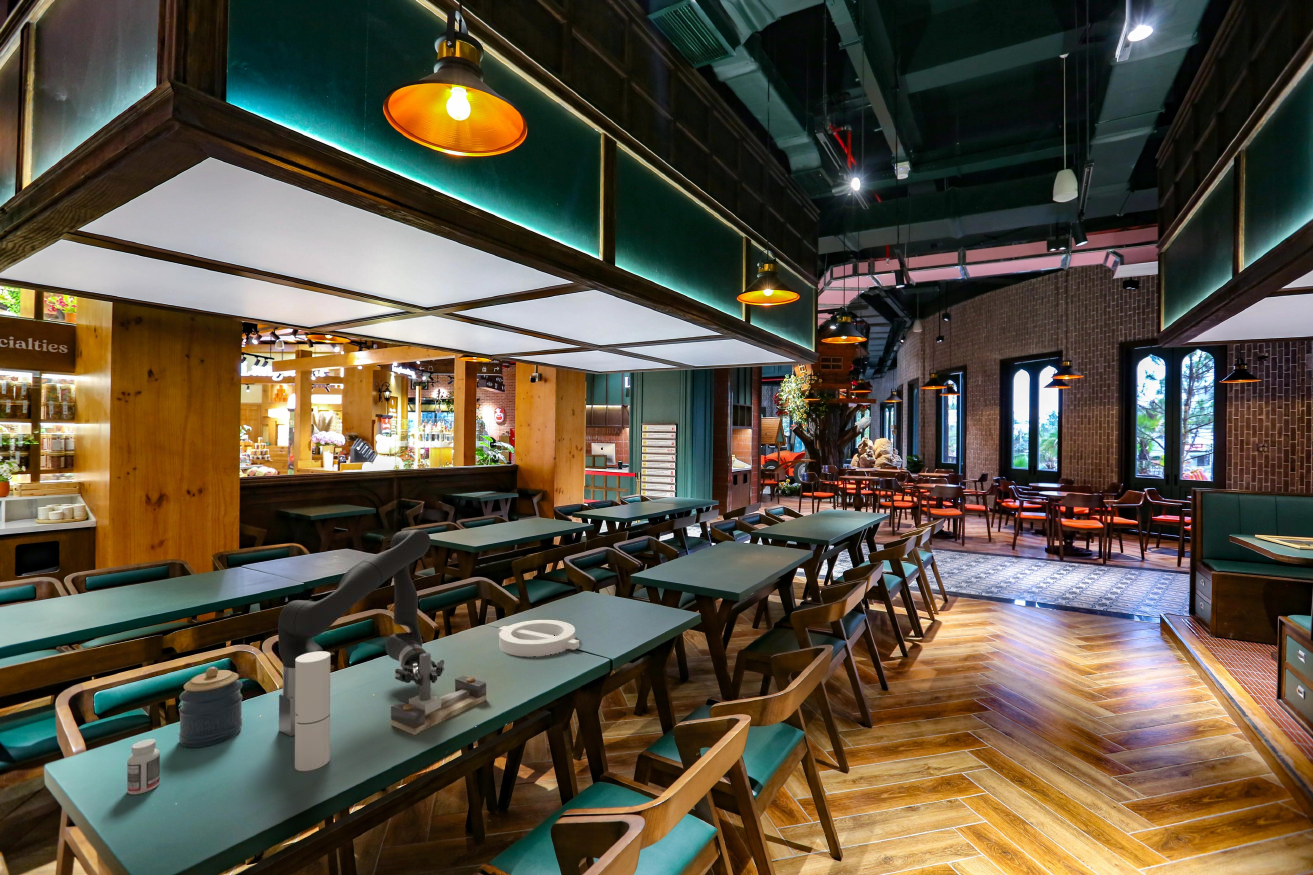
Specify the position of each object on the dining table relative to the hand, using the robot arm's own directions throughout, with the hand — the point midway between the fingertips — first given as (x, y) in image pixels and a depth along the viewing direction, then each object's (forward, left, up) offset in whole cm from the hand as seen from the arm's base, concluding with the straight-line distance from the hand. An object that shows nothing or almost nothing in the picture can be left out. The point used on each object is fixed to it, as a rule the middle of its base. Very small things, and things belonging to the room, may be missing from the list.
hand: (427, 680), depth 157 cm
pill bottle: (-52, +28, -12) cm, 60 cm away
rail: (+6, +3, -11) cm, 13 cm away
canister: (-34, +42, -12) cm, 55 cm away
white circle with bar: (+62, +19, -12) cm, 66 cm away
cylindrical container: (-27, +7, -12) cm, 30 cm away
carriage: (+1, +3, -8) cm, 9 cm away
